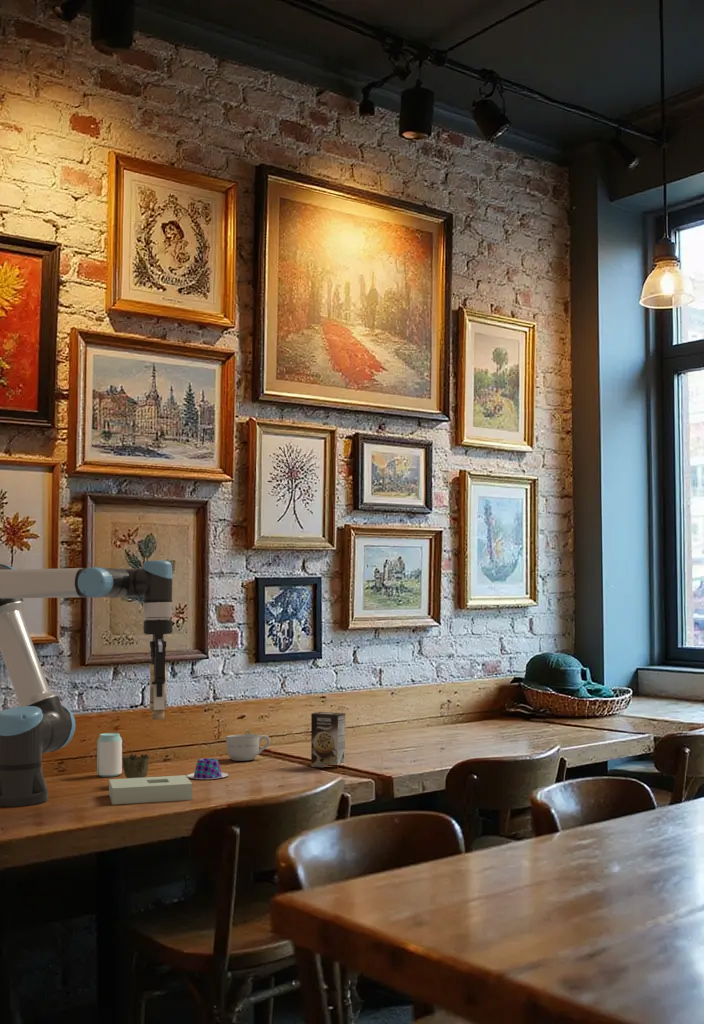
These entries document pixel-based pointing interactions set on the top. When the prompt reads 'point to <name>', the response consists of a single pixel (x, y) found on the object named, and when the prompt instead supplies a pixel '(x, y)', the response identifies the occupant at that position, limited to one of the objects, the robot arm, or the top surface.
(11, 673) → the robot arm
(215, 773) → the pudding
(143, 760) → the cup
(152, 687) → the peg
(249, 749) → the teacup
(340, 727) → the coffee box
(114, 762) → the can
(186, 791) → the board
